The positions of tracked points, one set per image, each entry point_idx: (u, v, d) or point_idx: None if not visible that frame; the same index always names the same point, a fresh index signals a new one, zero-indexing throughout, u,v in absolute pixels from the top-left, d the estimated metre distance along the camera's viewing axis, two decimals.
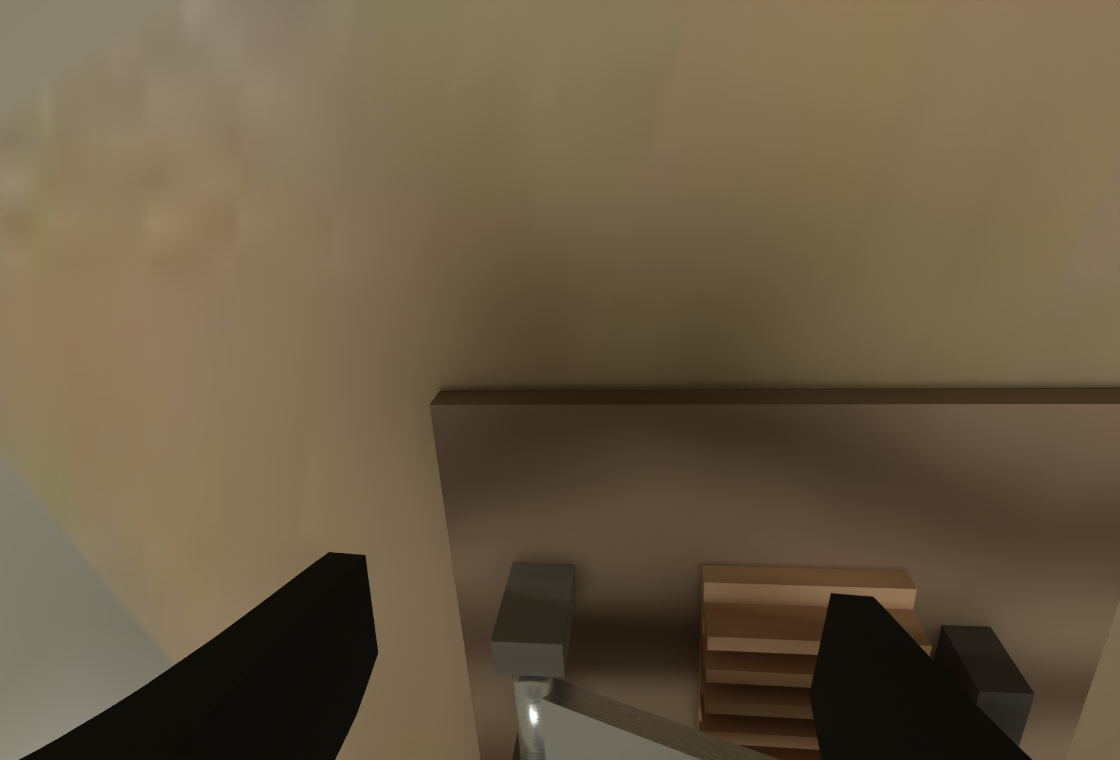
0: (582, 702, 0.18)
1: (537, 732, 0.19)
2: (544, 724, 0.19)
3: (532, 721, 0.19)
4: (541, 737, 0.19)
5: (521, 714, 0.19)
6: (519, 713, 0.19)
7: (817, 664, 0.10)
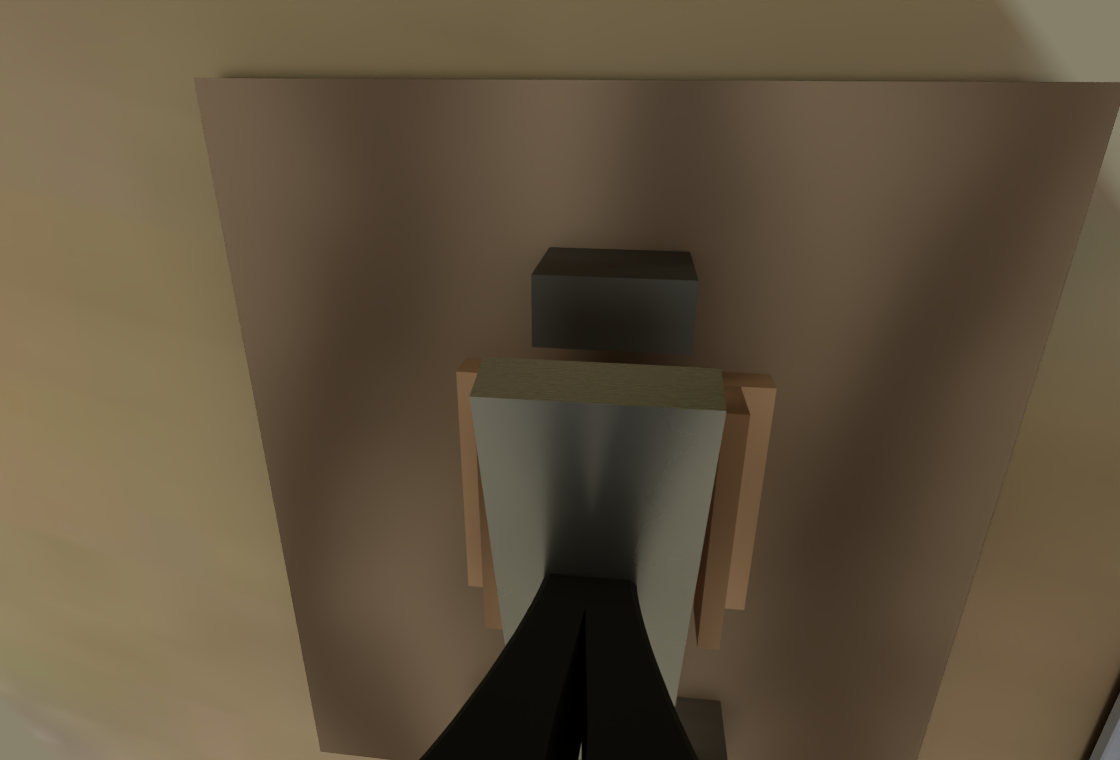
0: None
1: None
2: None
3: None
4: None
5: None
6: None
7: None
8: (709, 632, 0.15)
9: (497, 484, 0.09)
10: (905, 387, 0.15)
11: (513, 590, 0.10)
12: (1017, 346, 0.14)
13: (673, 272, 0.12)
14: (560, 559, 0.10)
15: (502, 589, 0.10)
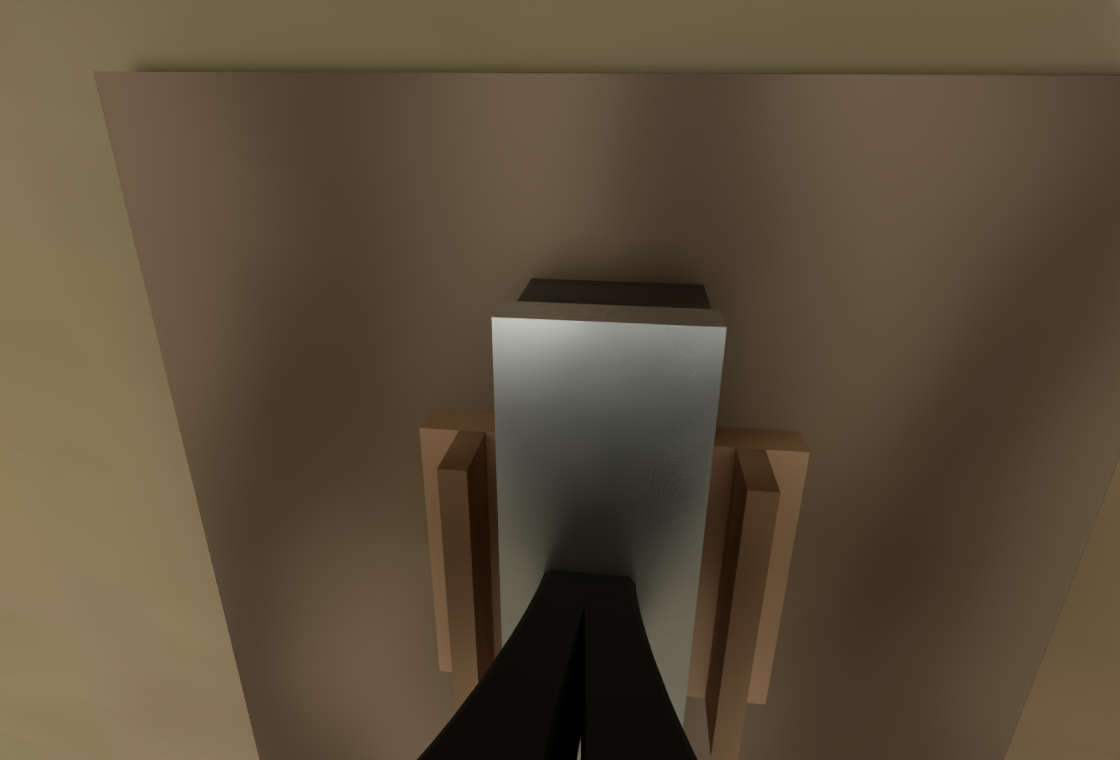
0: None
1: None
2: None
3: None
4: None
5: None
6: None
7: None
8: (725, 741, 0.12)
9: (509, 422, 0.09)
10: (965, 448, 0.12)
11: (516, 564, 0.10)
12: (1106, 401, 0.11)
13: None
14: (567, 519, 0.10)
15: (505, 563, 0.10)
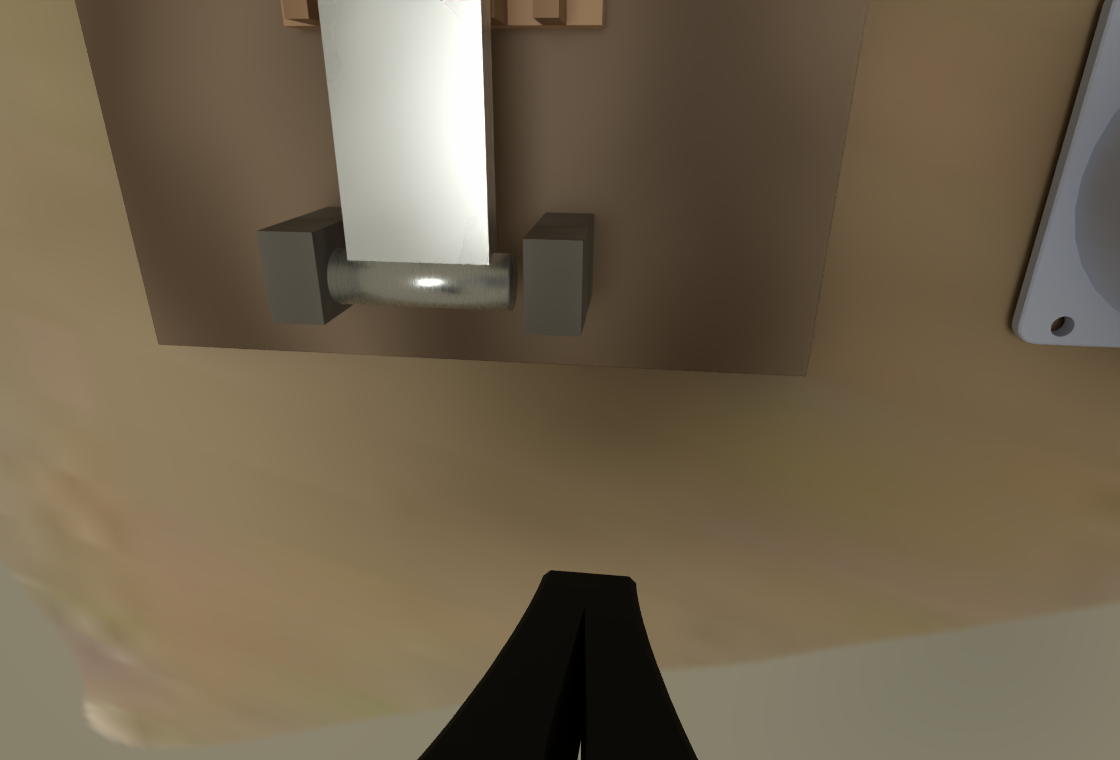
0: None
1: (407, 270, 0.14)
2: (397, 259, 0.14)
3: (385, 274, 0.14)
4: (423, 266, 0.14)
5: (378, 291, 0.14)
6: (380, 293, 0.14)
7: None
8: None
9: None
10: None
11: None
12: None
13: None
14: None
15: None
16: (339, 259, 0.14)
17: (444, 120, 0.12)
